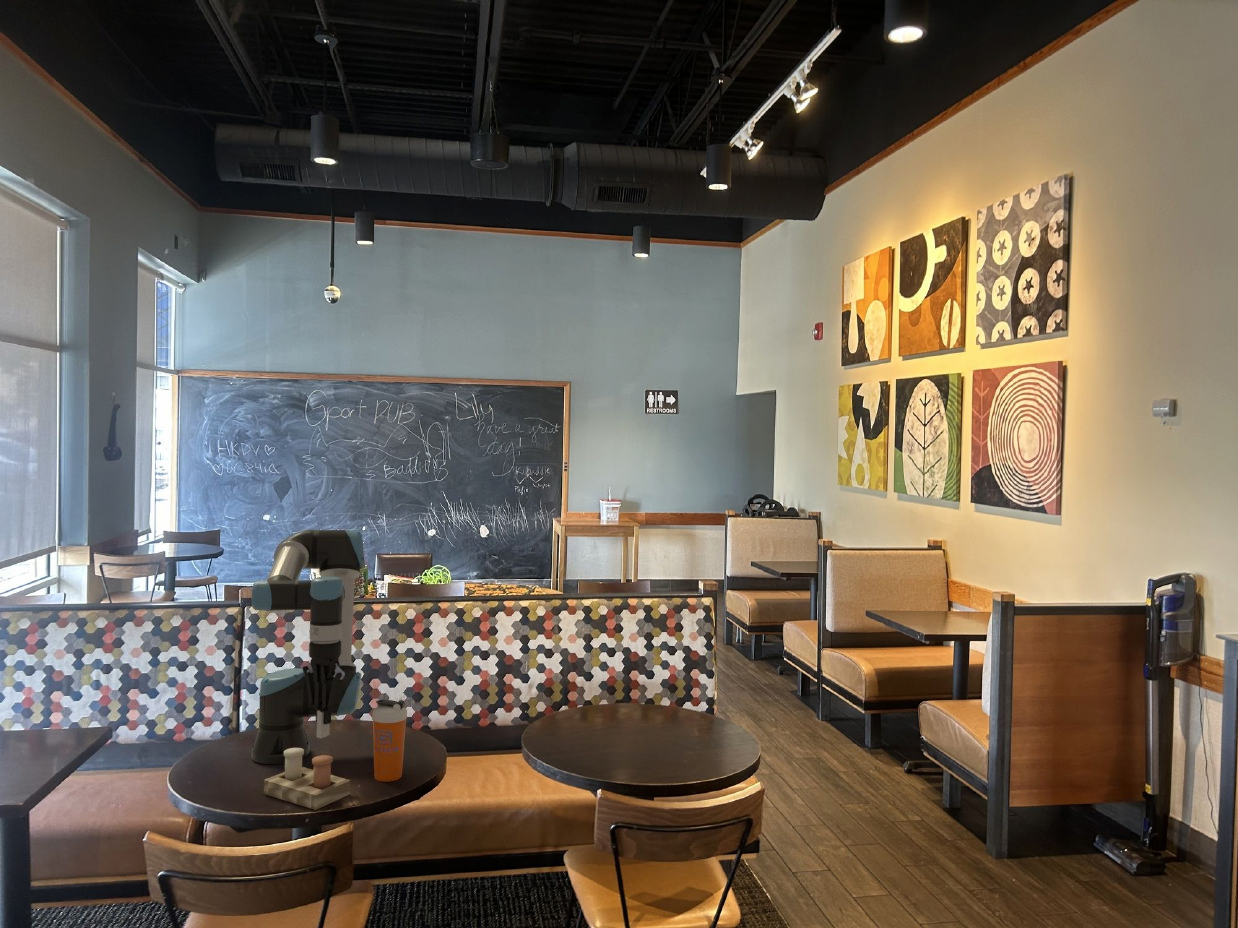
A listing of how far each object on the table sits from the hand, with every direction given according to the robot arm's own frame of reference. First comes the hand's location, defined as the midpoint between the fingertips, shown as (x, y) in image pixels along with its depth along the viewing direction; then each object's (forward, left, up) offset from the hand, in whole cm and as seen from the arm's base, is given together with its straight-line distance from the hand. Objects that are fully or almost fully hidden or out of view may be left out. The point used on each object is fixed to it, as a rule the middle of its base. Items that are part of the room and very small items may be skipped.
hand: (322, 736), depth 208 cm
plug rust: (0, 0, -13) cm, 13 cm away
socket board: (-5, 0, -16) cm, 16 cm away
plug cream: (-10, 0, -13) cm, 16 cm away
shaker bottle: (+4, +19, -16) cm, 25 cm away
